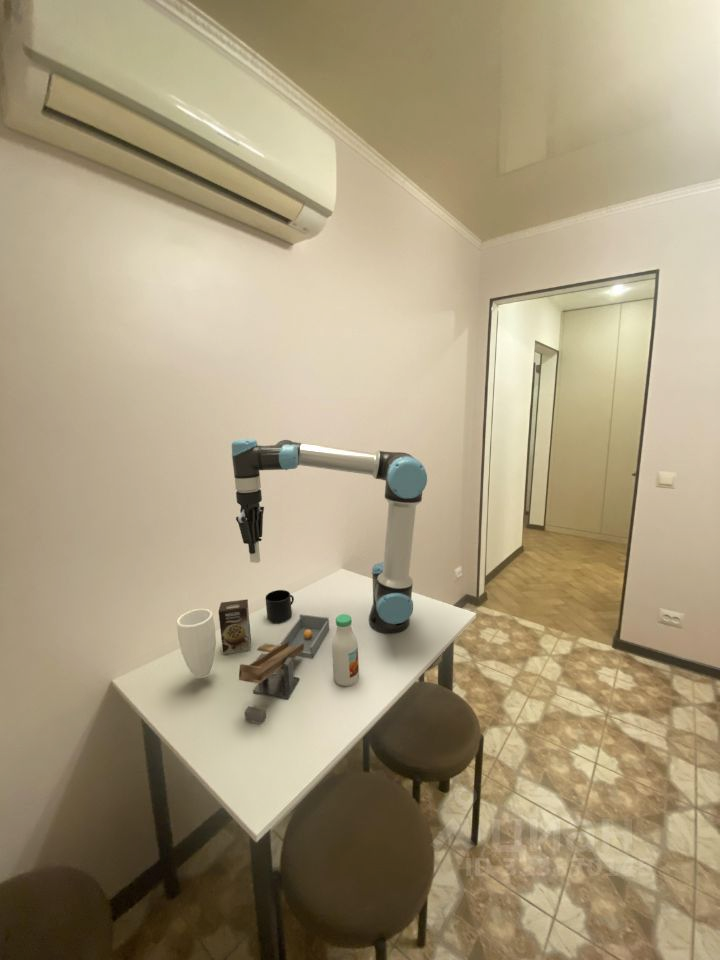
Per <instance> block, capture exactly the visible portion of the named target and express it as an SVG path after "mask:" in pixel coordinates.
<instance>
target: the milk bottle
mask: <svg viewBox="0 0 720 960" xmlns="http://www.w3.org/2000/svg"><path fill="white" fill-rule="evenodd" d="M352 621H353V620H352V616H351V615H349V614H347V613H343V614H339V615H337V616H336V617H335V626H336V630H335V633H334V636H333V639H332V643H331V651H332V652H331V654H332V655H331V657H332V674H333V681H334V682H335V683H336V684H337V685H339V686H342V687H349V686H353V685H355V684H356V683H357V681H358V680H359V678H360V667H359V666H360V665H359V660H360V659H359V647H358V645H359V644H358V638H357V636H356V634H355V632H354V631H353V628H352V624H353V623H352Z"/></svg>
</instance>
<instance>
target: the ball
mask: <svg viewBox="0 0 720 960" xmlns="http://www.w3.org/2000/svg"><path fill="white" fill-rule="evenodd" d="M304 637H305V638H307V639H309V638H311V637H312V631H311V630H309V629H308V630H306V631H305V632H304Z"/></svg>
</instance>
